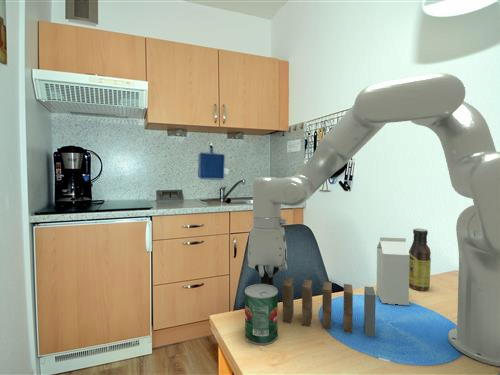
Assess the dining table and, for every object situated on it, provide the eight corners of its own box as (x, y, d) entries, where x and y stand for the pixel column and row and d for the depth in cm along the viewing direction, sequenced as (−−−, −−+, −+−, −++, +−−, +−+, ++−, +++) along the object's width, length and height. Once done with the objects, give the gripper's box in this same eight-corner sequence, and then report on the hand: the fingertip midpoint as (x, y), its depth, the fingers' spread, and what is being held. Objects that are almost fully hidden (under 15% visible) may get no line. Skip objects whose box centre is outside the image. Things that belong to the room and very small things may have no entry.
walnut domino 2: (312, 316, 75) (312, 280, 74) (310, 326, 70) (310, 287, 69) (304, 315, 75) (304, 279, 75) (302, 325, 70) (302, 286, 70)
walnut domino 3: (331, 319, 73) (331, 282, 73) (330, 330, 68) (330, 290, 68) (323, 318, 74) (323, 281, 73) (322, 328, 69) (322, 289, 68)
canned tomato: (240, 329, 69) (240, 286, 68) (269, 323, 71) (269, 281, 71) (252, 348, 61) (251, 300, 61) (283, 340, 64) (283, 294, 63)
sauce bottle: (408, 282, 97) (409, 226, 96) (429, 286, 94) (430, 228, 93) (407, 289, 91) (409, 229, 90) (430, 293, 88) (431, 231, 87)
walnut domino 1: (293, 314, 76) (293, 278, 76) (290, 323, 71) (290, 285, 71) (286, 312, 77) (286, 277, 76) (282, 322, 72) (282, 284, 72)
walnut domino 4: (351, 322, 71) (352, 284, 71) (352, 333, 67) (352, 292, 66) (343, 321, 72) (343, 283, 72) (343, 332, 67) (343, 291, 67)
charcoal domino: (372, 326, 70) (373, 287, 69) (375, 337, 65) (375, 295, 65) (364, 324, 70) (364, 286, 70) (365, 335, 66) (366, 294, 65)
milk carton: (408, 306, 80) (410, 241, 79) (382, 304, 82) (383, 240, 81) (400, 295, 87) (401, 235, 86) (376, 293, 88) (377, 234, 88)
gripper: (296, 221, 76) (296, 287, 77) (245, 219, 81) (245, 281, 81) (292, 226, 69) (292, 299, 70) (235, 224, 73) (236, 292, 74)
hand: (267, 289), depth 76 cm, fingers closed
